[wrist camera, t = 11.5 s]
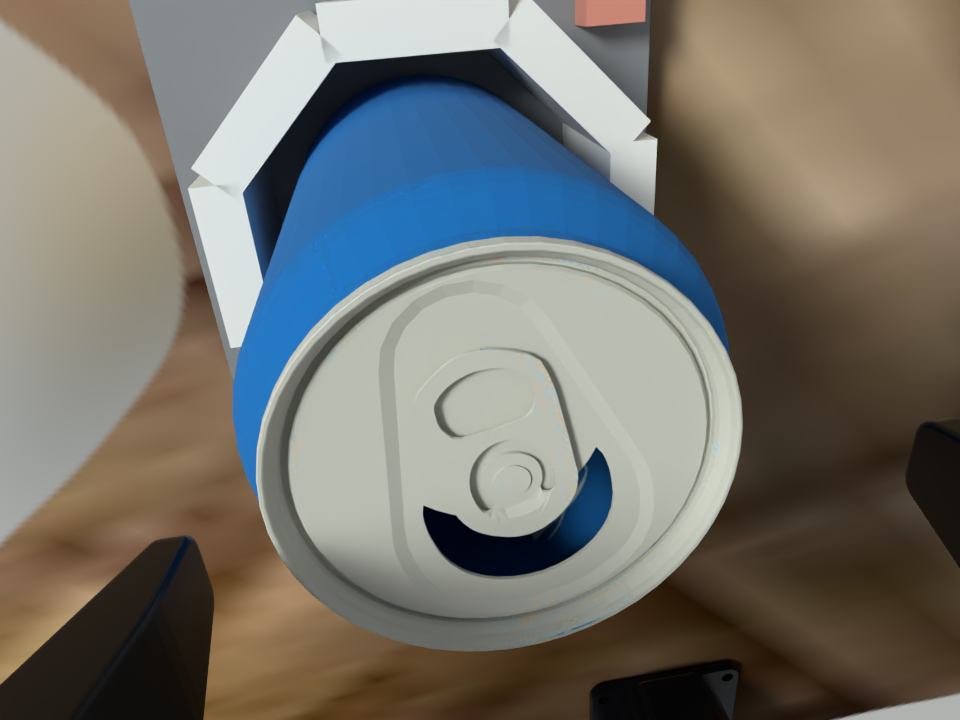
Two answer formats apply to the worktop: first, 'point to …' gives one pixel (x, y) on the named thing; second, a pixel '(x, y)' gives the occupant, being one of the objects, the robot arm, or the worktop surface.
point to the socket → (354, 68)
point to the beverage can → (479, 379)
